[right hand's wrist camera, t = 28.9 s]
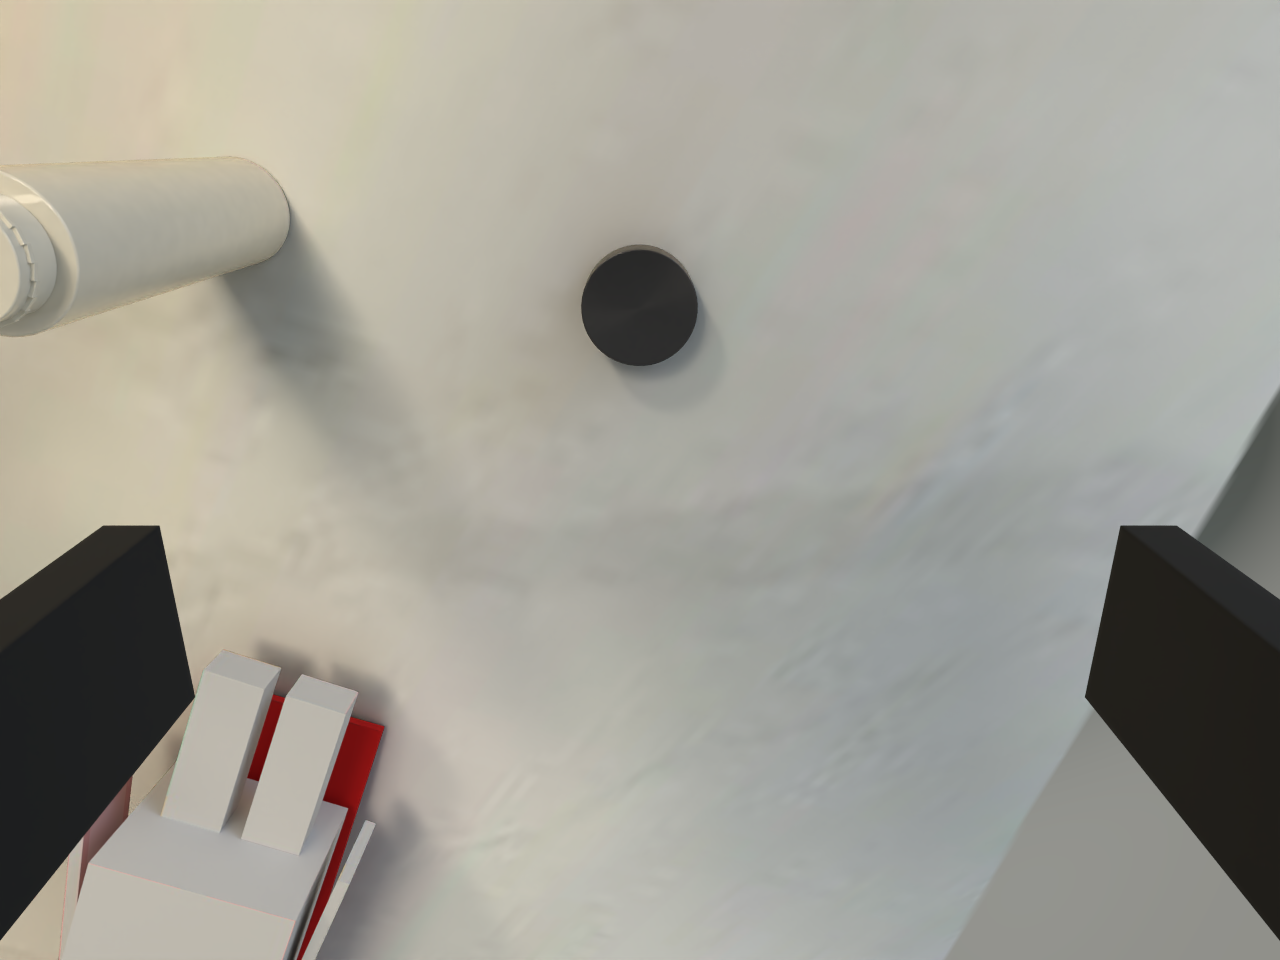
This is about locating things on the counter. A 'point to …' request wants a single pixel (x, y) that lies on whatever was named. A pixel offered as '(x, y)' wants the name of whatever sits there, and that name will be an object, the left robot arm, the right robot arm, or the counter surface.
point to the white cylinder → (126, 233)
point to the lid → (639, 305)
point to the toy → (230, 830)
